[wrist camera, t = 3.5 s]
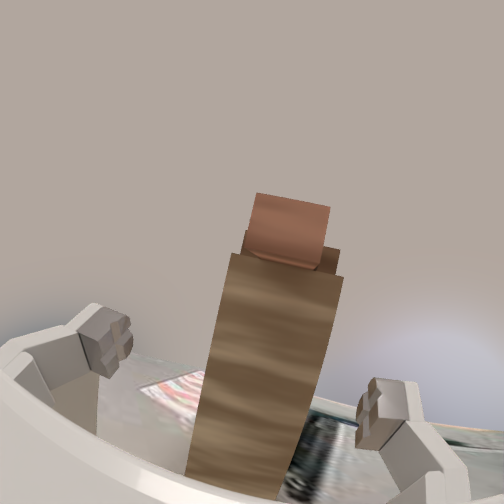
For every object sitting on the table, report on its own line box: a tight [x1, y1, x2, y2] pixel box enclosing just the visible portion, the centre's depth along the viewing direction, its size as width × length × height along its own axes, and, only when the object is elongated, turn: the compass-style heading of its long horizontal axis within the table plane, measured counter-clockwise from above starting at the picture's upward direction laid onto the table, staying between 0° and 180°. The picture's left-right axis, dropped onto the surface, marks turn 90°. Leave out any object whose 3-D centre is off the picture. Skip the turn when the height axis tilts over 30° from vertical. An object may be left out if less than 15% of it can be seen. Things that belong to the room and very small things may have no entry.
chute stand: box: [185, 230, 344, 501], centre depth 30 cm, size 15×9×28 cm, turn 171°
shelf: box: [50, 370, 99, 436], centre depth 14 cm, size 15×6×14 cm, turn 171°
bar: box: [244, 193, 330, 270], centre depth 26 cm, size 20×4×3 cm, turn 171°
